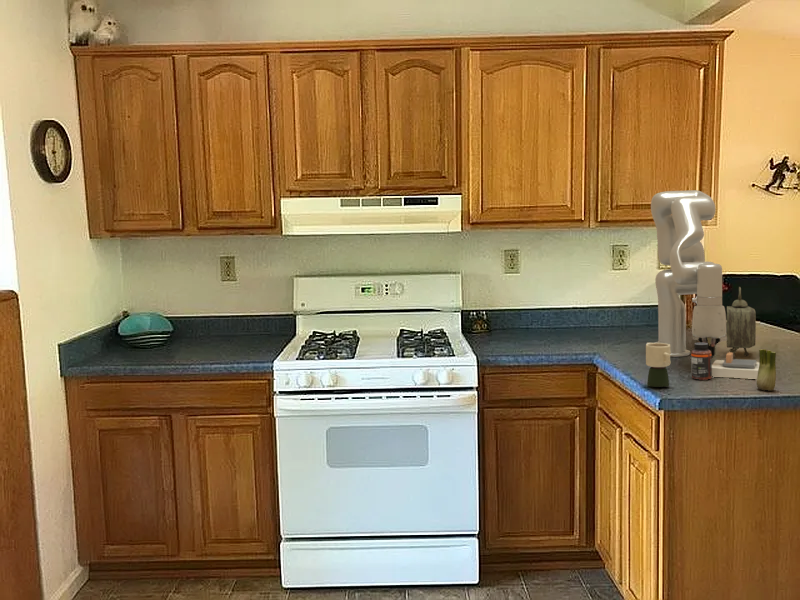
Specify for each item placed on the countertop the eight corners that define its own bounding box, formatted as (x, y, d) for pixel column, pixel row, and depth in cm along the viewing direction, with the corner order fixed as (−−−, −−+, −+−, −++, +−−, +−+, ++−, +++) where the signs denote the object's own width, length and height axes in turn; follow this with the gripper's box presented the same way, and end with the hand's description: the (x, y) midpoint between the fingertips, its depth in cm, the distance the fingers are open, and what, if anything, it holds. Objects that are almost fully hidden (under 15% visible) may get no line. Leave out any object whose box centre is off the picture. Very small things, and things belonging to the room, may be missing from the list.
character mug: (679, 389, 222) (679, 346, 221) (658, 391, 220) (658, 348, 219) (658, 382, 233) (657, 341, 231) (637, 384, 231) (637, 343, 230)
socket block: (709, 377, 237) (709, 367, 237) (715, 368, 249) (715, 360, 249) (765, 380, 229) (765, 371, 228) (769, 372, 241) (769, 362, 241)
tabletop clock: (726, 352, 277) (726, 285, 274) (753, 352, 274) (753, 285, 271) (727, 359, 264) (727, 289, 261) (755, 360, 260) (756, 288, 258)
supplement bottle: (706, 376, 238) (706, 341, 237) (715, 380, 232) (715, 344, 231) (688, 377, 238) (688, 342, 237) (696, 381, 232) (696, 345, 231)
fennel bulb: (778, 392, 214) (778, 351, 213) (759, 392, 215) (760, 351, 214) (771, 388, 220) (772, 347, 218) (754, 388, 220) (754, 347, 219)
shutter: (722, 366, 237) (722, 355, 237) (726, 361, 245) (726, 351, 244) (753, 367, 232) (754, 357, 232) (756, 362, 240) (756, 352, 240)
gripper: (682, 302, 242) (683, 358, 243) (733, 303, 234) (733, 361, 236) (687, 300, 248) (687, 354, 250) (736, 301, 240) (735, 357, 242)
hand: (709, 357), depth 243 cm, fingers closed
